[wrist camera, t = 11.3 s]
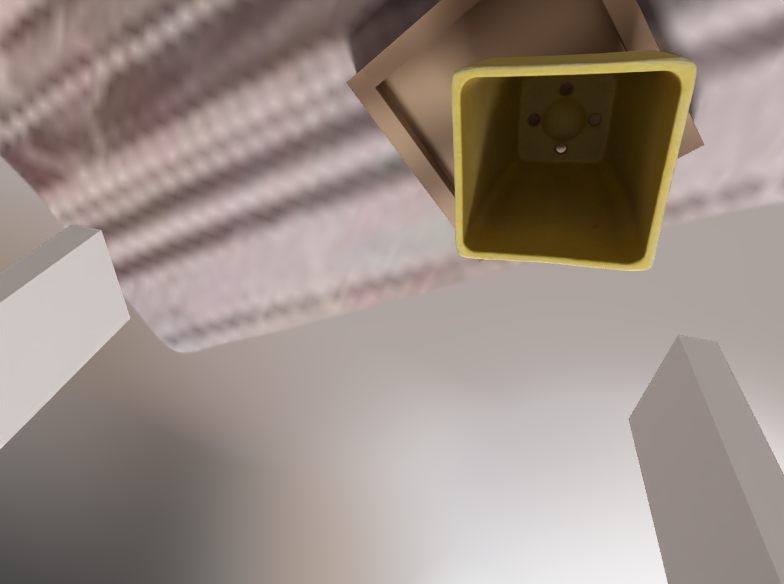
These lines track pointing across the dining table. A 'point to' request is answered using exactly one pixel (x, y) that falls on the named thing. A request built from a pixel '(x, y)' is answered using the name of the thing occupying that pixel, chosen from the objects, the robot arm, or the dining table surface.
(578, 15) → the walnut tray
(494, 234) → the flower pot
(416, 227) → the dining table surface
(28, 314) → the robot arm
